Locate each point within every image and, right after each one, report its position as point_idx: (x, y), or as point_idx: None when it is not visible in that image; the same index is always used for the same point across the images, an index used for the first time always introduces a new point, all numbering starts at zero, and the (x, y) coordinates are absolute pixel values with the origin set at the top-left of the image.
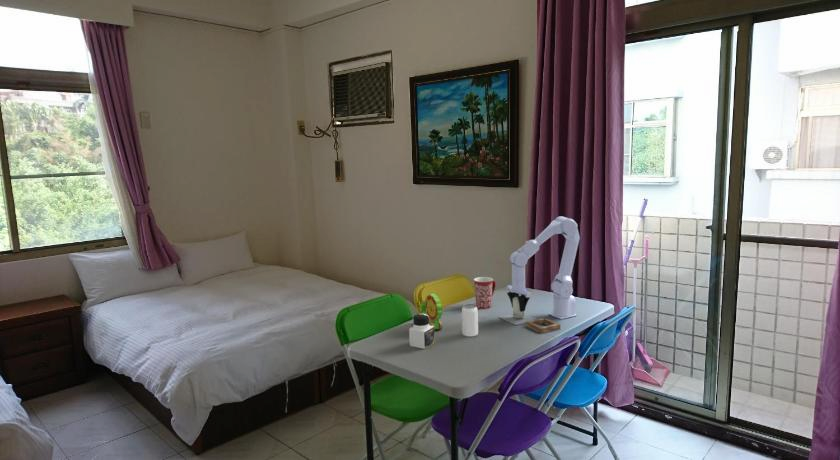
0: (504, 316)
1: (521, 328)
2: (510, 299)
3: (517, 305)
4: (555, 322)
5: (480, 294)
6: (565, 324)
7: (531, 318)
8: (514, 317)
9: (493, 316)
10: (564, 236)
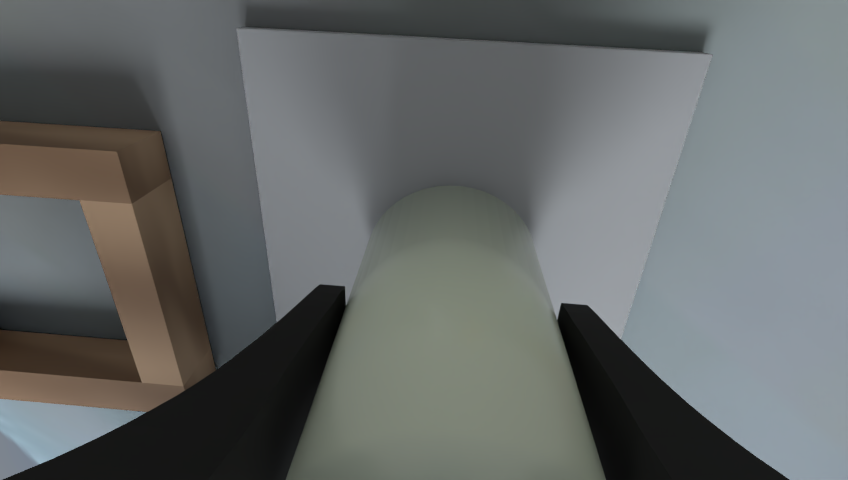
0: (650, 136)
1: (95, 15)
2: (694, 430)
3: (356, 334)
4: (4, 396)
5: None
6: None
7: None
8: None
9: (843, 10)
10: None
